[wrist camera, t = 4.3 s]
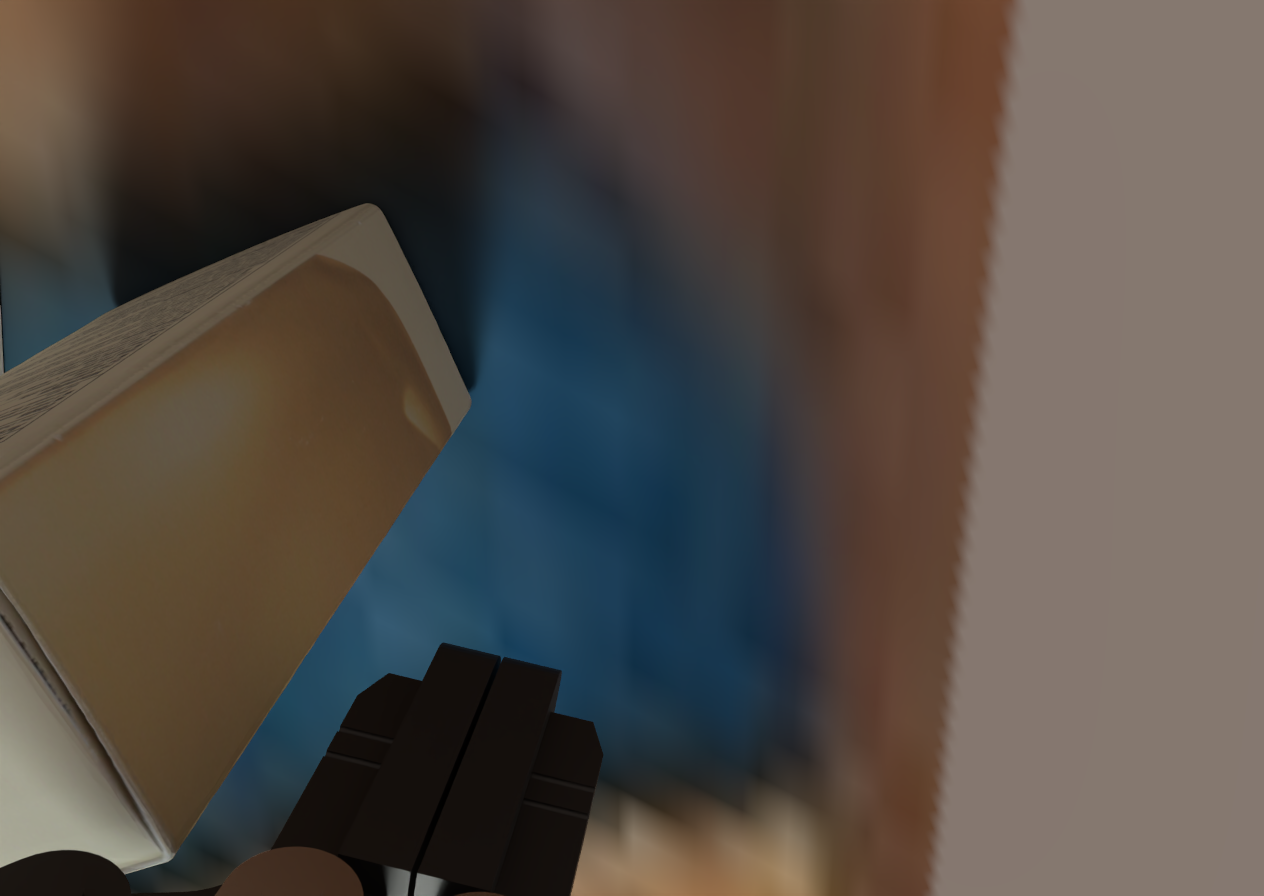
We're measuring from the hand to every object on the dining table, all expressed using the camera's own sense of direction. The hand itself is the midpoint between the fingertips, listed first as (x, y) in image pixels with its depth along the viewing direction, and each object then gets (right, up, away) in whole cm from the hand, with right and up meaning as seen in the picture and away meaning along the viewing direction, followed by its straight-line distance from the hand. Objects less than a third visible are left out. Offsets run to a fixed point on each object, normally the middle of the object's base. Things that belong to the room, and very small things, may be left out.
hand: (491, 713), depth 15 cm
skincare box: (-5, +5, +8) cm, 11 cm away
